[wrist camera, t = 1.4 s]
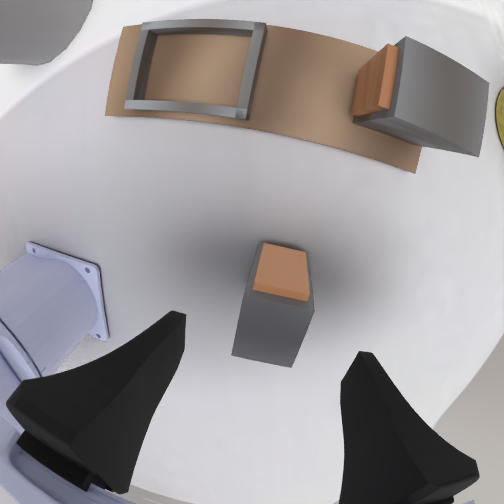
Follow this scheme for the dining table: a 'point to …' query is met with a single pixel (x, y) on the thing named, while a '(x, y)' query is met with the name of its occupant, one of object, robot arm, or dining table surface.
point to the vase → (500, 115)
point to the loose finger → (275, 306)
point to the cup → (39, 28)
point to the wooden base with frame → (301, 87)
